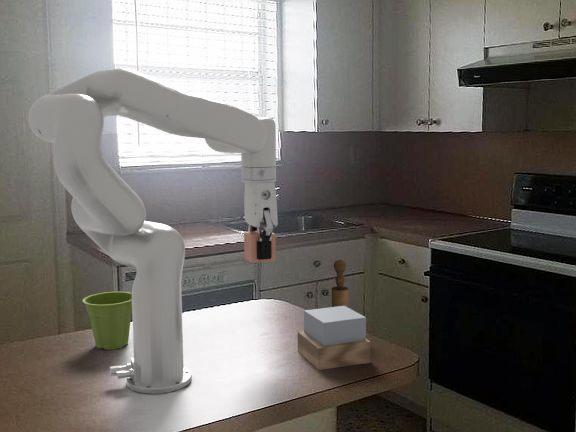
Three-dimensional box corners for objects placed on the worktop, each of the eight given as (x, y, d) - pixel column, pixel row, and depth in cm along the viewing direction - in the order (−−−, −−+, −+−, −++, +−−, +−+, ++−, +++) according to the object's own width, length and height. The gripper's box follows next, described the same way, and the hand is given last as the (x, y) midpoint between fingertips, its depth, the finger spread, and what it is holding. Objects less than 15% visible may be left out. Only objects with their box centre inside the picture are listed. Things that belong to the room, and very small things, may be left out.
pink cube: (251, 262, 143) (251, 235, 143) (244, 258, 149) (244, 231, 148) (275, 261, 145) (275, 234, 144) (267, 256, 150) (267, 230, 150)
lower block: (318, 371, 137) (318, 348, 136) (297, 353, 148) (297, 331, 147) (370, 364, 141) (370, 341, 140) (346, 346, 152) (346, 325, 151)
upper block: (323, 346, 138) (323, 322, 137) (304, 332, 147) (303, 310, 146) (365, 340, 141) (366, 317, 141) (344, 327, 151) (344, 305, 150)
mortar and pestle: (358, 332, 161) (359, 260, 159) (342, 338, 156) (342, 264, 154) (337, 326, 166) (337, 256, 163) (320, 332, 161) (320, 260, 158)
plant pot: (120, 333, 161) (118, 288, 159) (147, 345, 153) (146, 297, 151) (75, 345, 153) (72, 297, 151) (101, 357, 144) (99, 307, 143)
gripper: (288, 177, 138) (289, 262, 140) (262, 171, 154) (263, 248, 156) (254, 178, 135) (255, 265, 138) (231, 172, 151) (233, 250, 154)
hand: (259, 255), depth 147 cm, fingers closed on pink cube, 5 cm apart
